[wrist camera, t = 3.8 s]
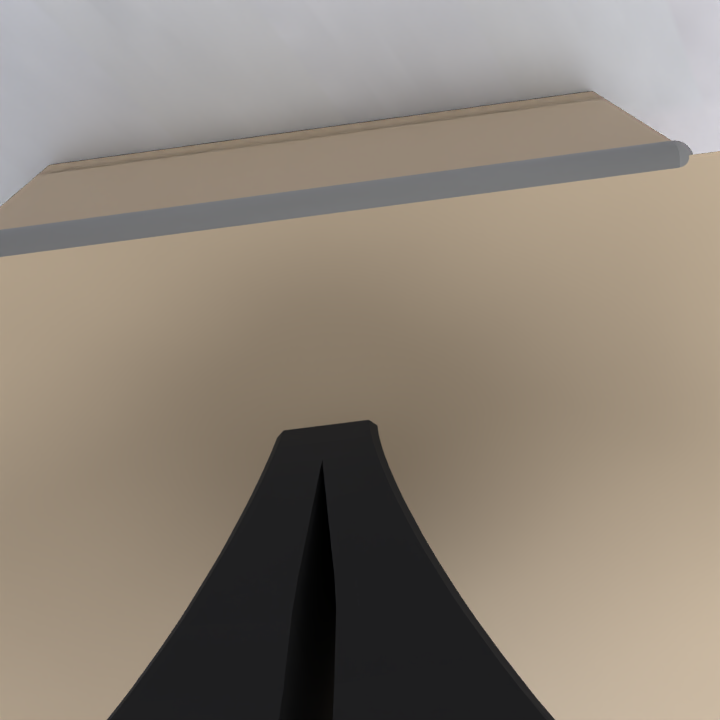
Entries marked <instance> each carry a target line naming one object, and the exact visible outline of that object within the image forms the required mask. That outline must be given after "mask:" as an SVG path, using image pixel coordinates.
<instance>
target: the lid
mask: <svg viewBox="0 0 720 720" xmlns="http://www.w3.org/2000/svg"><path fill="white" fill-rule="evenodd" d="M362 420H370V421H372V422H373V423H375V424H376V425H378V432H379V437H380V441H381V445H382V448H383V451H384V454H385V457H386V460H387V462H388V465H389V467H390V470H391V472H392V474H393V477H394V479H395V481H396V483H397V486H398V488H399V490H400V492H401V494H402V496H403V498H404V500H405V502H406V504H407V506H408V508H409V510H410V512H411V513H412V515H413V517H414V519H415V521H416V523H417V525H418V526H419V528H420V530H421V532H422V534H423V536H424V537H425V539H426V541H427V543H428V544H429V546H430V548H431V549H432V551H433V553H434V554H435V556H436V558H437V559H438V561H439V563H440V564H441V566H442V567H443V569H444V571H445V572H446V574H447V575H448V577H449V578H450V580H451V582H452V583H453V585H454V586H455V588H456V589H457V591H458V592H459V594H460V595H461V597H462V598H463V600H464V601H465V603H466V604H467V606H468V607H469V609H470V610H471V612H472V613H473V614H474V616H475V617H476V619H477V620H478V622H479V623H480V624H481V626H482V627H483V628H484V630H485V631H486V633H487V634H488V635H489V637H490V638H491V639H492V641H493V642H494V643H495V645H496V646H497V648H498V649H499V650H500V652H501V653H502V654H503V656H504V657H505V658H506V660H507V661H508V662H509V663H510V665H511V666H512V667H513V669H514V670H515V671H516V672H517V674H518V675H519V676H520V677H521V679H522V680H523V681H524V683H525V684H526V685H527V686H528V688H529V689H530V690H531V692H532V693H533V694H534V695H535V697H536V698H537V699H538V700H539V701H540V703H541V704H542V705H543V706H544V707H545V708H546V710H547V711H548V712H549V713H550V714H551V715H552V717H553V718H554V719H555V720H720V151H718V152H710V153H702V154H695V155H693V153H692V151H691V149H690V148H689V147H688V146H687V145H686V144H684V143H682V142H680V141H664V142H657V143H649V144H642V145H634V146H627V147H619V148H611V149H604V150H596V151H589V152H581V153H574V154H566V155H559V156H551V157H544V158H536V159H529V160H521V161H514V162H506V163H499V164H491V165H484V166H476V167H469V168H461V169H454V170H446V171H439V172H431V173H423V174H416V175H408V176H401V177H393V178H386V179H378V180H371V181H363V182H356V183H348V184H341V185H333V186H326V187H318V188H311V189H303V190H296V191H288V192H281V193H273V194H266V195H258V196H251V197H243V198H235V199H228V200H220V201H213V202H205V203H198V204H190V205H183V206H175V207H168V208H160V209H153V210H145V211H138V212H130V213H123V214H115V215H108V216H100V217H93V218H85V219H78V220H70V221H63V222H55V223H48V224H40V225H32V226H25V227H17V228H10V229H2V230H0V720H107V719H108V718H109V716H110V715H111V714H112V713H113V711H114V710H115V709H116V707H117V706H118V705H119V704H120V702H121V701H122V700H123V699H124V697H125V696H126V695H127V693H128V692H129V691H130V689H131V688H132V687H133V685H134V684H135V683H136V681H137V680H138V678H139V677H140V676H141V674H142V673H143V672H144V670H145V669H146V667H147V666H148V665H149V663H150V662H151V660H152V659H153V658H154V656H155V655H156V653H157V652H158V651H159V649H160V648H161V646H162V645H163V643H164V642H165V640H166V639H167V638H168V636H169V635H170V633H171V632H172V630H173V629H174V627H175V626H176V624H177V623H178V621H179V620H180V618H181V617H182V615H183V613H184V612H185V610H186V609H187V607H188V606H189V604H190V602H191V601H192V599H193V597H194V596H195V594H196V592H197V591H198V589H199V588H200V586H201V584H202V583H203V581H204V579H205V578H206V576H207V574H208V573H209V571H210V570H211V568H212V566H213V565H214V563H215V561H216V560H217V558H218V556H219V555H220V553H221V551H222V549H223V548H224V546H225V544H226V542H227V540H228V538H229V536H230V535H231V533H232V531H233V529H234V527H235V525H236V523H237V522H238V520H239V518H240V516H241V514H242V512H243V510H244V509H245V507H246V505H247V503H248V501H249V499H250V497H251V495H252V493H253V491H254V489H255V486H256V484H257V482H258V480H259V478H260V476H261V474H262V472H263V470H264V467H265V465H266V463H267V461H268V458H269V456H270V454H271V451H272V449H273V447H274V444H275V442H276V439H277V437H278V436H279V435H280V434H281V433H282V431H283V430H290V429H298V428H306V427H314V426H322V425H330V424H338V423H346V422H354V421H362Z"/></svg>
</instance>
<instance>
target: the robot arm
mask: <svg viewBox="0 0 720 720" xmlns="http://www.w3.org/2000/svg"><path fill="white" fill-rule="evenodd" d="M107 720H555V719H554V718H553V717H552V715H551V714H550V713H549V712H548V711H547V710H546V708H545V707H544V706H543V705H542V704H541V703H540V701H539V700H538V699H537V698H536V697H535V695H534V694H533V693H532V692H531V690H530V689H529V688H528V686H527V685H526V684H525V683H524V681H523V680H522V679H521V677H520V676H519V675H518V674H517V672H516V671H515V670H514V669H513V667H512V666H511V665H510V663H509V662H508V661H507V660H506V658H505V657H504V656H503V654H502V653H501V652H500V650H499V649H498V648H497V646H496V645H495V643H494V642H493V641H492V639H491V638H490V637H489V635H488V634H487V633H486V631H485V630H484V628H483V627H482V626H481V624H480V623H479V622H478V620H477V619H476V617H475V616H474V614H473V613H472V612H471V610H470V609H469V607H468V606H467V604H466V603H465V601H464V600H463V598H462V597H461V595H460V594H459V592H458V591H457V589H456V588H455V586H454V585H453V583H452V582H451V580H450V578H449V577H448V575H447V574H446V572H445V571H444V569H443V567H442V566H441V564H440V563H439V561H438V559H437V558H436V556H435V554H434V553H433V551H432V549H431V548H430V546H429V544H428V543H427V541H426V539H425V537H424V536H423V534H422V532H421V530H420V528H419V526H418V525H417V523H416V521H415V519H414V517H413V515H412V513H411V512H410V510H409V508H408V506H407V504H406V502H405V500H404V498H403V496H402V494H401V492H400V490H399V488H398V486H397V483H396V481H395V479H394V477H393V474H392V472H391V470H390V467H389V465H388V462H387V460H386V457H385V454H384V451H383V448H382V445H381V441H380V437H379V432H378V425H376V424H375V423H373V422H372V421H370V420H362V421H354V422H346V423H338V424H330V425H322V426H314V427H306V428H298V429H290V430H283V431H282V433H281V434H280V435H279V436H278V437H277V439H276V442H275V444H274V447H273V449H272V451H271V454H270V456H269V458H268V461H267V463H266V465H265V467H264V470H263V472H262V474H261V476H260V478H259V480H258V482H257V484H256V486H255V489H254V491H253V493H252V495H251V497H250V499H249V501H248V503H247V505H246V507H245V509H244V510H243V512H242V514H241V516H240V518H239V520H238V522H237V523H236V525H235V527H234V529H233V531H232V533H231V535H230V536H229V538H228V540H227V542H226V544H225V546H224V548H223V549H222V551H221V553H220V555H219V556H218V558H217V560H216V561H215V563H214V565H213V566H212V568H211V570H210V571H209V573H208V574H207V576H206V578H205V579H204V581H203V583H202V584H201V586H200V588H199V589H198V591H197V592H196V594H195V596H194V597H193V599H192V601H191V602H190V604H189V606H188V607H187V609H186V610H185V612H184V613H183V615H182V617H181V618H180V620H179V621H178V623H177V624H176V626H175V627H174V629H173V630H172V632H171V633H170V635H169V636H168V638H167V639H166V640H165V642H164V643H163V645H162V646H161V648H160V649H159V651H158V652H157V653H156V655H155V656H154V658H153V659H152V660H151V662H150V663H149V665H148V666H147V667H146V669H145V670H144V672H143V673H142V674H141V676H140V677H139V678H138V680H137V681H136V683H135V684H134V685H133V687H132V688H131V689H130V691H129V692H128V693H127V695H126V696H125V697H124V699H123V700H122V701H121V702H120V704H119V705H118V706H117V707H116V709H115V710H114V711H113V713H112V714H111V715H110V716H109V718H108V719H107Z"/></svg>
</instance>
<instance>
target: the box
mask: <svg viewBox="0 0 720 720" xmlns="http://www.w3.org/2000/svg"><path fill="white" fill-rule="evenodd" d="M664 141H671V140H670V139H668V138H667V137H665V136H663V135H662V134H660V133H659V132H657V131H655V130H654V129H652V128H651V127H649V126H647V125H646V124H644V123H643V122H641V121H639V120H638V119H636V118H635V117H633V116H631V115H630V114H628V113H627V112H625V111H623V110H622V109H620V108H619V107H617V106H615V105H614V104H612V103H611V102H609V101H607V100H606V99H604V98H603V97H601V96H600V95H598V94H596V93H595V92H593V91H590V92H583V93H575V94H568V95H561V96H553V97H546V98H539V99H531V100H524V101H517V102H509V103H502V104H494V105H487V106H480V107H472V108H465V109H458V110H450V111H443V112H436V113H428V114H421V115H414V116H406V117H399V118H392V119H384V120H377V121H369V122H362V123H355V124H347V125H340V126H333V127H325V128H318V129H311V130H303V131H296V132H289V133H281V134H274V135H266V136H259V137H252V138H244V139H237V140H230V141H222V142H215V143H208V144H200V145H193V146H186V147H178V148H171V149H164V150H156V151H149V152H141V153H134V154H127V155H119V156H112V157H105V158H97V159H90V160H83V161H75V162H68V163H61V164H53V165H49V166H47V167H46V168H45V169H44V170H43V171H42V172H40V173H39V174H38V175H37V176H36V177H35V178H33V179H32V180H31V181H30V182H29V183H28V184H26V185H25V186H24V187H23V188H22V189H21V190H19V191H18V192H17V193H16V194H15V195H14V196H12V197H11V198H10V199H9V200H8V201H7V202H5V203H4V204H3V205H2V206H1V207H0V230H2V229H10V228H17V227H25V226H32V225H40V224H48V223H55V222H63V221H70V220H78V219H85V218H93V217H100V216H108V215H115V214H123V213H130V212H138V211H145V210H153V209H160V208H168V207H175V206H183V205H190V204H198V203H205V202H213V201H220V200H228V199H235V198H243V197H251V196H258V195H266V194H273V193H281V192H288V191H296V190H303V189H311V188H318V187H326V186H333V185H341V184H348V183H356V182H363V181H371V180H378V179H386V178H393V177H401V176H408V175H416V174H423V173H431V172H439V171H446V170H454V169H461V168H469V167H476V166H484V165H491V164H499V163H506V162H514V161H521V160H529V159H536V158H544V157H551V156H559V155H566V154H574V153H581V152H589V151H596V150H604V149H611V148H619V147H627V146H634V145H642V144H649V143H657V142H664Z"/></svg>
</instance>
